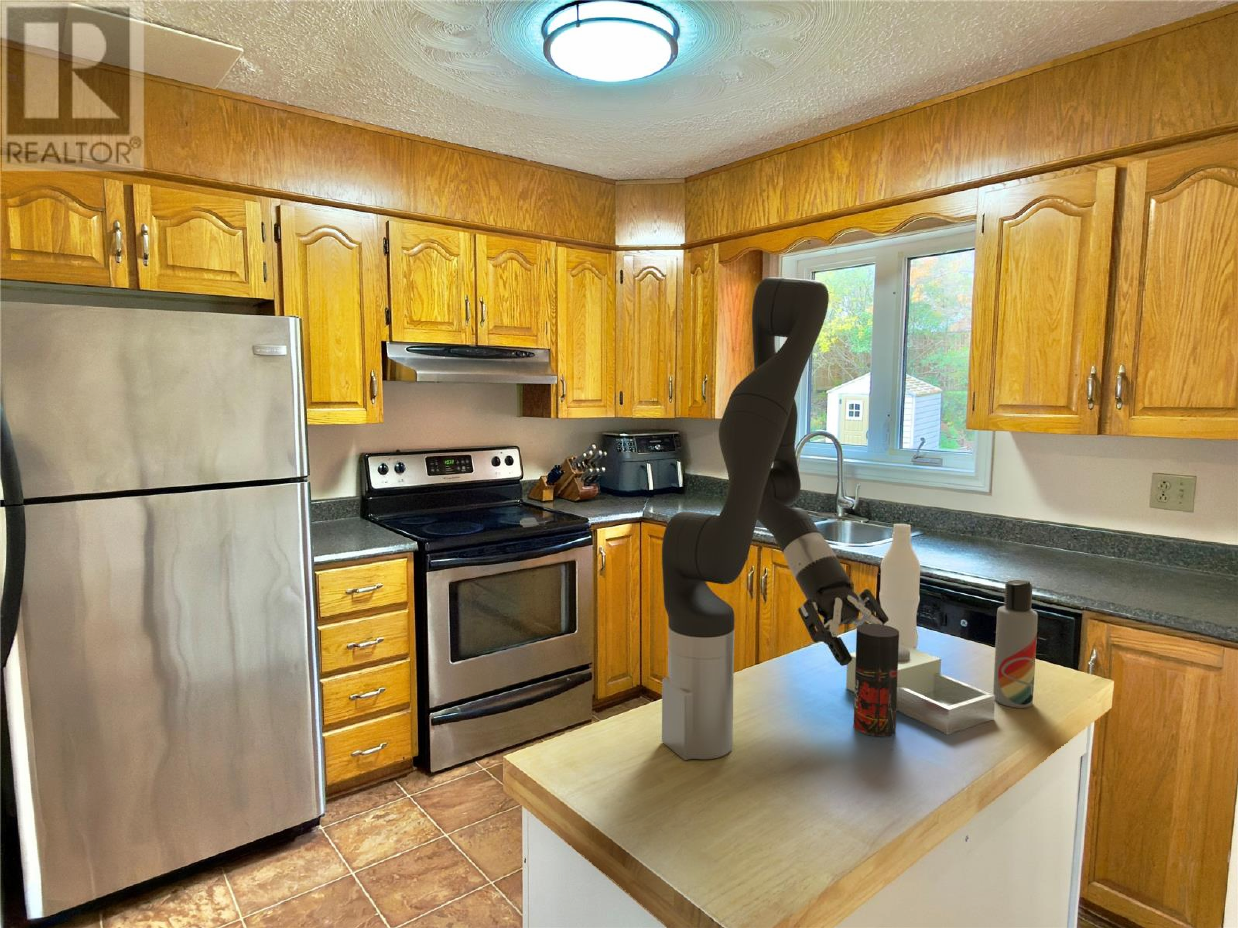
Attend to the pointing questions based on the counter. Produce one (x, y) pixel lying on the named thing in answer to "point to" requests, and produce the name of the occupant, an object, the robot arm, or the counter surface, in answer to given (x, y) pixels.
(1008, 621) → the lotion bottle
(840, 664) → the robot arm
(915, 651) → the cream rectangular block
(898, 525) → the water bottle
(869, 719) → the deodorant
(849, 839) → the counter surface
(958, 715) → the white open box
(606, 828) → the counter surface
